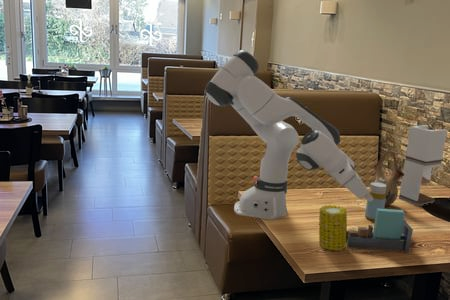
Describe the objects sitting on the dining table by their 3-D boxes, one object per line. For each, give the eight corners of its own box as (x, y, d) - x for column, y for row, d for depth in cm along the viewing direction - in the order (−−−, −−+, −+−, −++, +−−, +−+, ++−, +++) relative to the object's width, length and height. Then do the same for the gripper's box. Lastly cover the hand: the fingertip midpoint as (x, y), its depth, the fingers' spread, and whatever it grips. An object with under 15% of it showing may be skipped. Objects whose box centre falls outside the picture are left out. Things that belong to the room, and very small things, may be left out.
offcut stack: (348, 245, 155) (350, 225, 153) (346, 242, 157) (349, 223, 155) (370, 246, 154) (373, 227, 152) (368, 244, 156) (371, 225, 155)
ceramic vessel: (404, 208, 193) (413, 154, 186) (390, 212, 188) (399, 156, 182) (375, 196, 206) (382, 146, 200) (362, 199, 202) (369, 147, 196)
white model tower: (418, 206, 197) (431, 131, 188) (398, 198, 206) (410, 126, 197) (434, 202, 202) (447, 129, 194) (414, 195, 211) (426, 125, 203)
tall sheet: (373, 247, 154) (378, 210, 151) (371, 244, 156) (376, 208, 153) (398, 249, 154) (404, 212, 150) (396, 246, 156) (402, 210, 153)
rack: (348, 248, 152) (351, 225, 150) (343, 238, 160) (346, 216, 157) (408, 253, 151) (412, 229, 149) (401, 243, 159) (404, 220, 156)
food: (338, 258, 148) (312, 249, 154) (354, 241, 156) (329, 233, 162) (336, 220, 142) (310, 213, 149) (353, 204, 150) (327, 197, 156)
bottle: (383, 222, 176) (388, 188, 173) (365, 220, 178) (370, 186, 174) (381, 216, 183) (386, 182, 179) (364, 214, 184) (368, 180, 180)
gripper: (329, 163, 158) (354, 188, 160) (339, 184, 139) (368, 212, 141) (342, 152, 157) (367, 177, 159) (354, 171, 137) (383, 200, 139)
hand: (368, 194), depth 150 cm, fingers open, 8 cm apart
